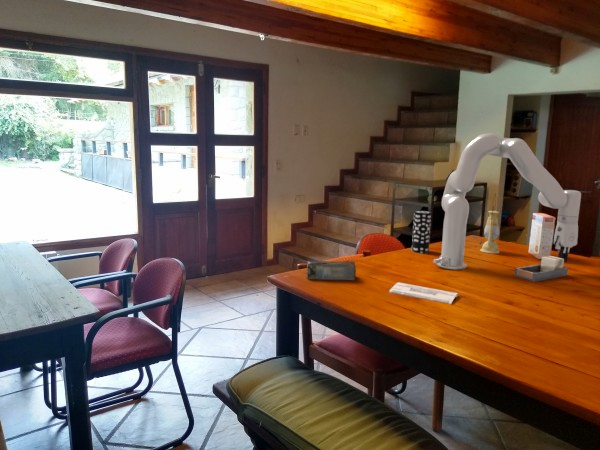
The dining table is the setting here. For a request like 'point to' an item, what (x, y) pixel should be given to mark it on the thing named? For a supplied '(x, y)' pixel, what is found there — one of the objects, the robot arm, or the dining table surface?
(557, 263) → the block
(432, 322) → the dining table surface
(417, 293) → the newspaper
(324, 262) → the beverage carton
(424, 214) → the white-spotted black cylinder
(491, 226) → the lantern
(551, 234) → the cracker box
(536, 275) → the grey shallow tray
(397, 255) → the dining table surface
